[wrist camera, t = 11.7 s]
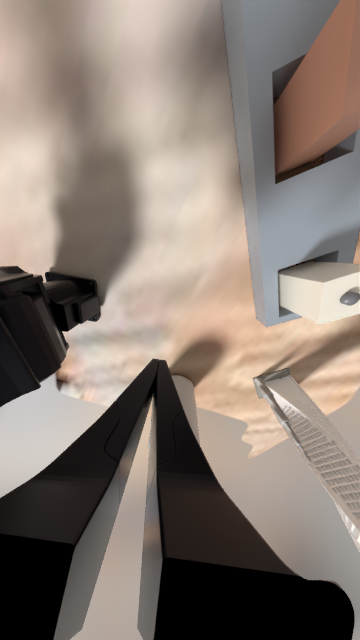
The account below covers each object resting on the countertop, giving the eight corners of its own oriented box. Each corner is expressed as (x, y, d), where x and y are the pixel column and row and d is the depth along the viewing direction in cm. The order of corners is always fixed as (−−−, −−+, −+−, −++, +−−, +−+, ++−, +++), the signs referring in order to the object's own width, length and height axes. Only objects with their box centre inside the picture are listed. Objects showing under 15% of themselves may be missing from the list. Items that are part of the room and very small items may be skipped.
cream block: (307, 293, 19) (375, 313, 13) (274, 303, 20) (323, 327, 13) (309, 261, 18) (389, 265, 11) (273, 273, 18) (328, 283, 12)
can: (173, 366, 26) (168, 444, 15) (200, 383, 28) (213, 462, 17) (151, 386, 29) (133, 465, 18) (178, 400, 31) (177, 479, 20)
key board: (324, 299, 20) (344, 305, 18) (256, 318, 22) (266, 327, 19) (443, -660, 5) (736, -1675, 2) (180, -373, 6) (180, -803, 4)
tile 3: (316, 159, 14) (453, 63, 7) (269, 179, 14) (352, 109, 7) (321, 89, 12) (515, -139, 5) (267, 116, 12) (374, -54, 6)
